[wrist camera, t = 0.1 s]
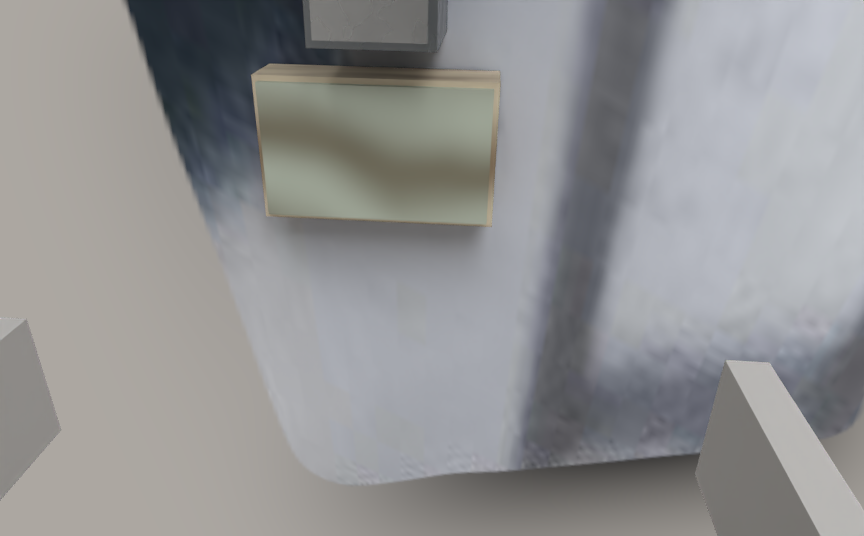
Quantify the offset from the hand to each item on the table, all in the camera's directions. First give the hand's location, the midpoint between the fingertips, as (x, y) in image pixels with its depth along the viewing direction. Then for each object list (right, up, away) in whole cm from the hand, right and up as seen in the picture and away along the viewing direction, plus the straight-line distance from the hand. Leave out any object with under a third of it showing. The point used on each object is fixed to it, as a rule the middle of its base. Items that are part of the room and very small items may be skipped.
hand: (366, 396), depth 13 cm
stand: (-2, +10, +26) cm, 28 cm away
